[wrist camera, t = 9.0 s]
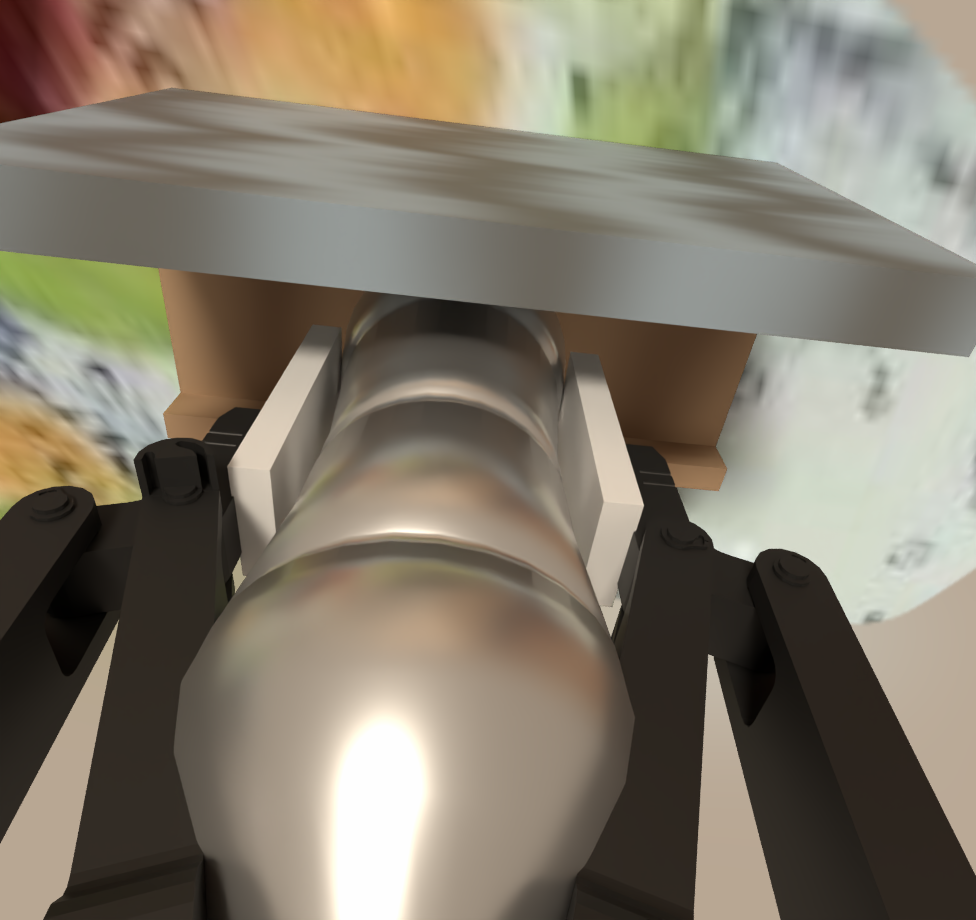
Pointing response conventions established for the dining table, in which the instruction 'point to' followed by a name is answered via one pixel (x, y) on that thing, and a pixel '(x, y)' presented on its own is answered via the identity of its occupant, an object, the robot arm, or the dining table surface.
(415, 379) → the silver metal bottle
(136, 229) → the brown wooden box
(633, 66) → the dining table surface
